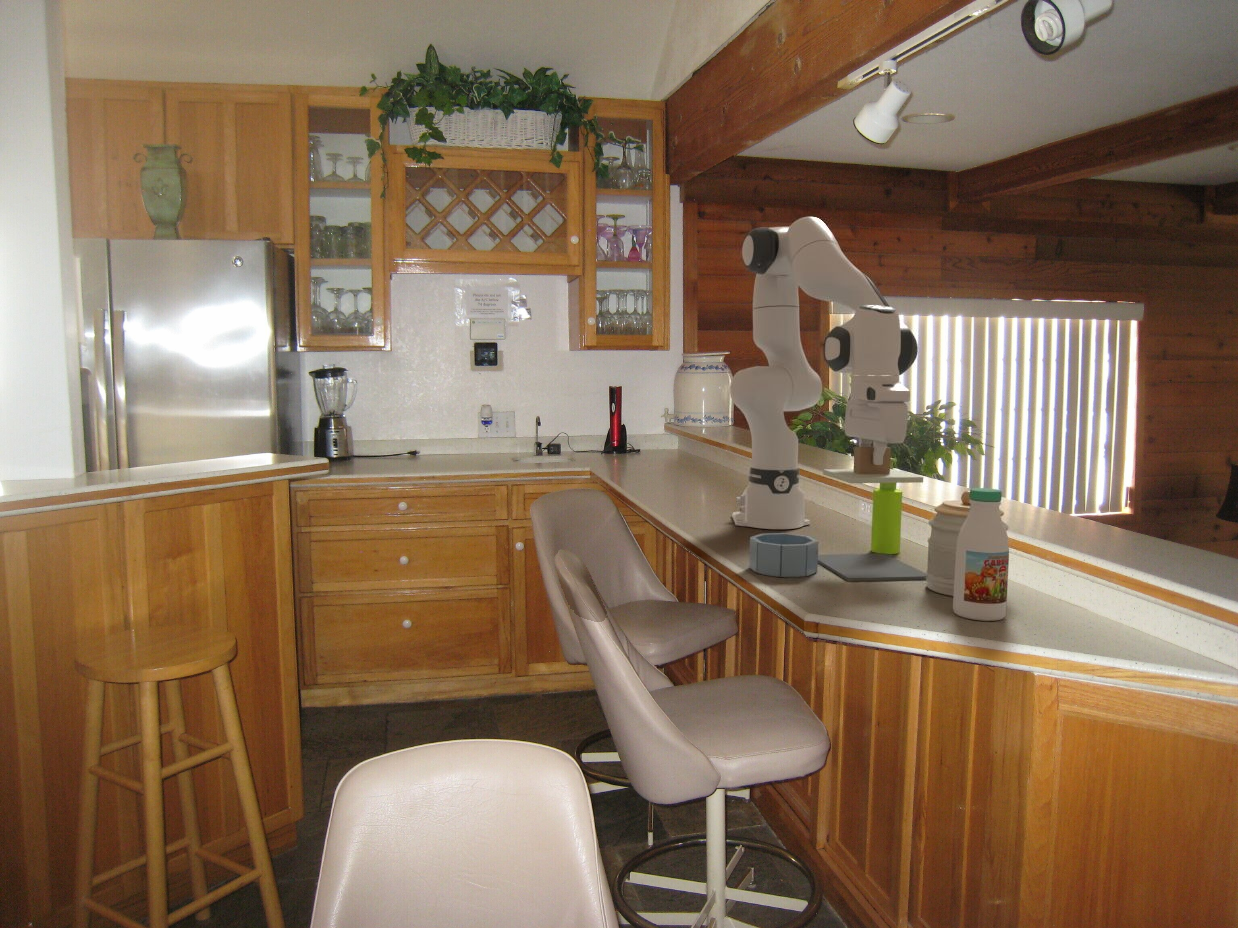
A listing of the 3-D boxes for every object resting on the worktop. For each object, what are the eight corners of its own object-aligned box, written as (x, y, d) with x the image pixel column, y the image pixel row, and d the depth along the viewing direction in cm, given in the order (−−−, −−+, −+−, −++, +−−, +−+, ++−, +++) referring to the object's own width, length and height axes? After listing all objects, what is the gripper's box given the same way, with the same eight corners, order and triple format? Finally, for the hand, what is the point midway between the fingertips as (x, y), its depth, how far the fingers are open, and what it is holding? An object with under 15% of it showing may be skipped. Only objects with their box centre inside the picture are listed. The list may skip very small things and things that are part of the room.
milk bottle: (944, 614, 137) (950, 489, 134) (965, 605, 142) (971, 484, 140) (993, 625, 131) (1000, 494, 129) (1013, 615, 136) (1021, 489, 134)
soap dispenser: (872, 546, 189) (876, 455, 187) (904, 551, 185) (908, 457, 182) (861, 550, 184) (865, 457, 182) (893, 555, 180) (897, 459, 178)
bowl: (744, 563, 171) (744, 533, 171) (802, 562, 173) (803, 532, 172) (761, 578, 159) (762, 546, 159) (824, 576, 161) (825, 544, 160)
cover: (823, 474, 172) (823, 444, 172) (889, 473, 174) (890, 444, 174) (850, 483, 159) (852, 450, 158) (923, 482, 161) (924, 450, 160)
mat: (809, 557, 177) (809, 554, 177) (884, 556, 179) (884, 553, 179) (848, 581, 158) (848, 578, 157) (931, 579, 160) (931, 576, 160)
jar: (1021, 594, 150) (1027, 493, 148) (971, 603, 143) (976, 498, 141) (958, 578, 161) (963, 484, 159) (909, 586, 154) (913, 488, 153)
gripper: (837, 389, 175) (835, 458, 176) (881, 392, 154) (878, 469, 156) (867, 389, 175) (865, 457, 177) (915, 392, 155) (911, 469, 157)
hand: (871, 463), depth 166 cm, fingers closed on cover, 3 cm apart
